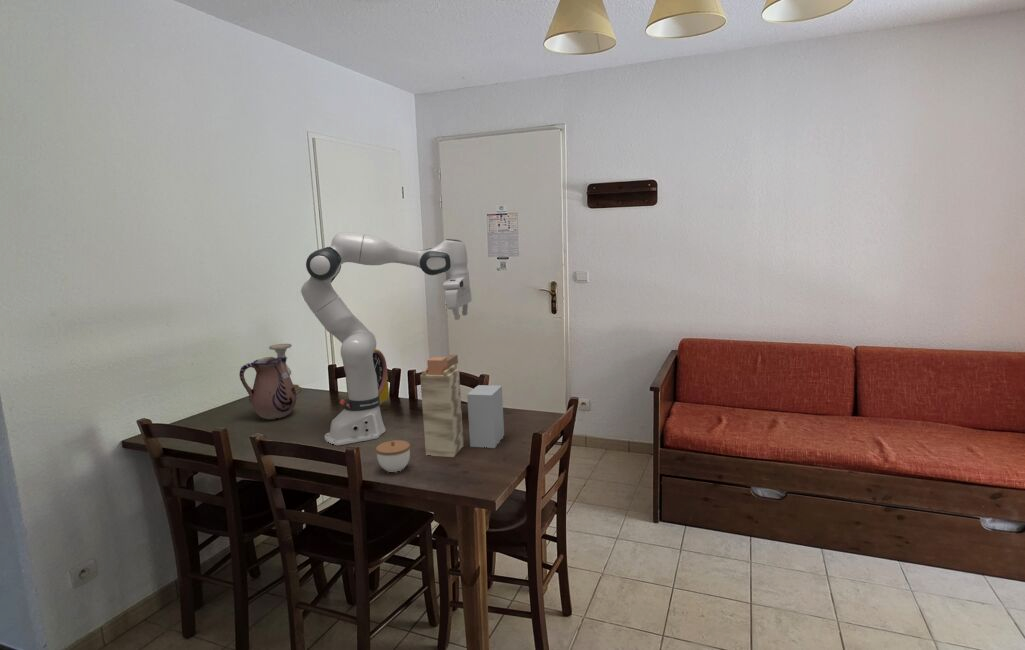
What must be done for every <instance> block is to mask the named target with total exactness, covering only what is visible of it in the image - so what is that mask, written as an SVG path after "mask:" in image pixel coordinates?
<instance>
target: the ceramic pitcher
mask: <svg viewBox="0 0 1025 650" xmlns="http://www.w3.org/2000/svg"><path fill="white" fill-rule="evenodd" d="M286 357H287V356H286ZM286 357H278V358H277V357H274V356H269V357H268V356H267V357H262V358H259V359H255V360H254V361H253V362H249V363H246V364H243V365H242V366H241V368H240V370H239V373H238V375H239V379H240V381H241V383H242V385H243V387H244V389H245V390H246V392H247V395H249V396H248V397H249V398H248V400H249V403H250V404H251V406H252V408H253V410H254V412H255V413H256V415H258V416H259V417H260V418H262V419H265V420H276V419H275V418H279V419H282V418H281V417H283V418H285V417H287V416H288V415H290V414H291V413H292V411H293V410H294V408H295V407H296V404H297V393H296V392H295V389H294V386H293V381H292V379H291V376H289V373H288V370H287V367H286V364H287V360H286ZM250 368H251V369H254V370H255V372H256V374H255V378H254V382H253V386H252V388H251V387H250V385H249V384H248V383H247V380H246V378H245V372H246V370H248V369H250ZM284 416H285V417H284Z"/></svg>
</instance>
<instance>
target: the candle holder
mask: <svg viewBox="0 0 1025 650" xmlns="http://www.w3.org/2000/svg"><path fill="white" fill-rule="evenodd" d="M292 345H293V344H291V343H278V344H273V345H270V346H269V347H268V349H269V350H271V351H274V352H275V353H276V355H277V356H276V358H278V357H286V361H287V360H288V356H286V352H287V349H290V348H291V347H292ZM286 367H287V370H288V373H289V376H290V375H292V370H291V368H290V367H289V366H288V365H287V363H286ZM290 377H291V376H290ZM293 386H294V389H295V392H296V391H298V390H300V389H301V390H302V387H301V386H299V384H293Z"/></svg>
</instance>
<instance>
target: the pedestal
mask: <svg viewBox="0 0 1025 650" xmlns="http://www.w3.org/2000/svg"><path fill="white" fill-rule="evenodd" d="M466 397H467V398H466V399H467V414H468V415H467V416H468V431H469V447H470V448H484V447H485V449H486V447H487V448H488V449H496V447H497V446H498V445H499V443H500V442H501V441H500V440H501V439H502V440H503V439H504V437H505V429H504V428H505V426H504V425H505V423H504V408H503V407H504V403H503V402H504V401H503V386H502V385H492V384H491V385H487V384H486V385H485V384H484V385H483V384H481V385H480V384H477V386H475V387H474V388H472V390H470V391H469V392H468V393H467V394H466ZM503 436H504V437H503ZM497 444H498V445H497Z"/></svg>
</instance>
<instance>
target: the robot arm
mask: <svg viewBox="0 0 1025 650" xmlns="http://www.w3.org/2000/svg"><path fill="white" fill-rule="evenodd" d="M468 262H469V261H468V253H467V248H466V245H465V243H464V242H463V241H462V240H460V239H453V238H446V239H444V240H443V241H442V242H440V243H439V244H438V245H436V246H434V247H430V248H426V249H421V250H420V249H413V248H407V247H402V246H398V245H395V244H392V243H390V242H388V241H386V240H383V239H382V238H380V237H376V236H373V235H370V234H366V233H365V234H364V233H358V232H338V233H336V234H335V235H334V236H333V238H332V239H331V244H330V246H326V247H324V248H320V249H318V250H314V251H313V252H311V253H310V254H309V255H308V257H307V259H306V262H305V266H306V267H305V269H306V271H307V273H308V274H309V276H310V277H309V278H308V280H306V281H305V282H304V283H303V284H302V287H301V289H300V293H301V296H302V297H303V298H302V299H303V300H304V301H305V303H306V304H307V306H308V308H309V310H310V311H311V312H312V313H313V314H314V316H315V317H316V319H317V320H318V321H319V323H320V324H321V325H322V326H323V328H324V329H325V330H326V331H327V332H328V333H329V334H331V335H332V336H333V337H334V338H335V339H337V340H338V341H339V342H340V343H341V347H340V356H341V357H340V358H341V361H342V365H343V369H344V373H345V379H346V378H347V385H346V388H347V387H348V395H347V399H344V398H343V399H340V400H339V404H340V405H341V406H343V408H344V409H343V410H342V411H340V413H338V415H337V416H336V417H334V419H332V420H331V422H330V427H329V428H330V429H329V432H327V433H325V435H324V440H325V442H327V443H328V442H329V443H328V444H330V443H331V444H330V445H332V444H334V445H333V446H342V445H348V444H355V443H360V442H364V441H370V440H376V439H378V438H380V436H381V435H382V434H384V433H385V432H386V427H385V424H384V420H383V417H382V413H381V404H382V403H381V402H380V396H379V394H378V385H377V375H376V372H375V368H374V363H373V352H374V351H375V349H377V339H376V336H375V335H374V334H373V332H371V331H370V330H369V328H368V327H366V326H365V325H364V323H363V322H362V321H360V319H358V317H356V316H355V314H354V313H353V312H352V311H351V310H350V308H348V306H347V304H345V302H344V301H343V300H342V298H341V297H340V296H339V294H338V293H337V292H336V291H335V289H334V288H333V285H332V283H333V282H334V280H335V278H336V277H337V276H338V274H339V273H340V272H341V268H342V265H343V264H344V263H351V264H352V263H353V264H358V265H363V266H381V265H387V264H401V265H407V266H414V267H417V268H419V269H421V270H422V272H423V273H424V274H426V275H428V276H438V275H440V274H442V273H444V275H445V279H444V282H443V283H442V288H443V290H444V296H445V302H446V303H445V304H446V307H447V309H448V310H451V311H452V313H453V317H454V320H455V321H458V320H460V319H461V316H467V315H468V313H469V312H468V308H469V303H471V302H472V299H473V298H472V292H471V291H472V290H471V286H470V285H471V284H470V283H471V282H470V273H469V272H470V271H469V268H468ZM460 308H462V310H461V314H462V315H461V314H460V312H459V311H460ZM348 397H349V398H348Z"/></svg>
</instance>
